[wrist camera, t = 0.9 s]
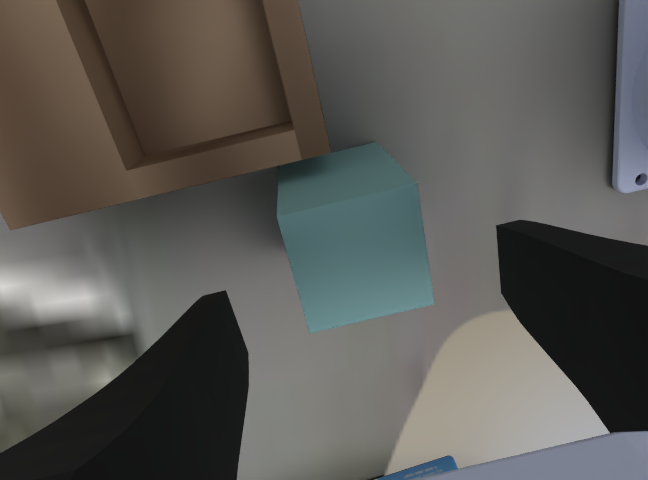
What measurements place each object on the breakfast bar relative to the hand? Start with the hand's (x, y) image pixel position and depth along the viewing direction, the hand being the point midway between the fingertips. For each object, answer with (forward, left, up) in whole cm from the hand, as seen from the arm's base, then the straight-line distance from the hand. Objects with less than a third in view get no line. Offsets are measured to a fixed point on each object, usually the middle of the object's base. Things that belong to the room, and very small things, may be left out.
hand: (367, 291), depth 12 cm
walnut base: (+5, -7, -8) cm, 11 cm away
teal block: (0, 0, -8) cm, 8 cm away
